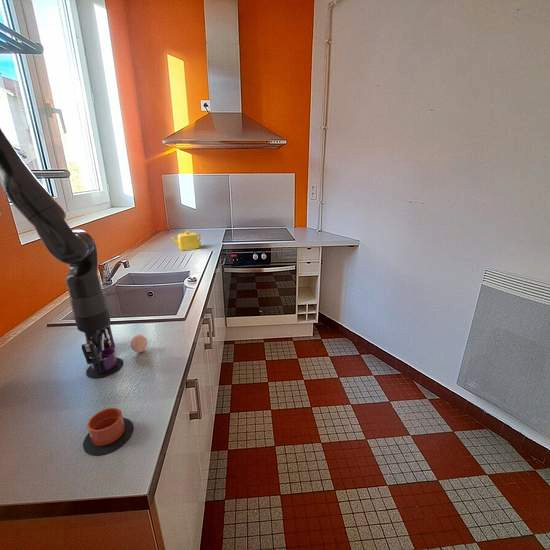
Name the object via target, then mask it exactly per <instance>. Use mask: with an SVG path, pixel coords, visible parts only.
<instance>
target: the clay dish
mask: <svg viewBox="0 0 550 550" xmlns="http://www.w3.org/2000/svg"><path fill="white" fill-rule="evenodd" d="M123 418H124V416H123V412H122V410H121V409H119V408H118V407H108V408H104V409H102V410H99V411H98V412H96V413H95V414H93V415H92V416H91V417H90V418H89V420H88V422H87V424H86V426H87V431H88V433H89V434H90V438H91V441H92V443H93V444H94V445H97V446H104V445H108V444H111V443H113V442H114V441H116V440H117V439H118V438H120V436H121V435H122V434H123V433H124V430H125V424H124V420H123Z"/></svg>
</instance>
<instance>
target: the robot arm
mask: <svg viewBox="0 0 550 550" xmlns="http://www.w3.org/2000/svg"><path fill="white" fill-rule="evenodd" d="M3 131H4V130H3V129H2V127H0V186H1V189H2V191H3V193H4V194H5V196H6V197H7V199H8V200H9V201H10V203H11V204H12V205H13V207H15V209H16V210H17V211H18V212H19V213H20V214H21V215H22V216H23V217H24V218H25V219H26V220H27V221H28V223H29V224H30V225H32V226H33V227H34V229H35V231H36V233H37V235H38V237H39V238H40V240H41V242H42V243H43V245H44V247H45V248H46V250H47V251H48V252H49V254H50V255H51V256H52V257H53V258H55V259H56V260H57V261H59V262H61V263H63V264H64V265H68V271H67V273H66V275H65V284H66V288H67V291H68V296H69V300H70V307H71V311H72V315H73V318H74V321H75V325H76V329H77V330H78V332H81V333H83V334H85V333H86V336H85V342H86V343H84V344H82V345H81V350H82V353H83V355H84V358H85V361H86V364H87V365H91V364H93V365H94V369H95V373H97V374H99V373H104V372H105V366H104V362H103V359H102V351H104V348H111V346H110V345H111V341H110V340H112V336H113V332H112V333H111V331H112V328H111V316H110V312H109V308H108V303H107V300H106V297H105V294H104V292H103V287H102V284H101V280H100V276H99V271H98V269H99V263H98V249H97V245H96V241H95V239H94V238H93V236H92V234H90V233H89V232H87V231H85V230H83V229H72V228H71V227H70V226H69V224H68V223H67V222H66V220H65V219H66V217H67V214H66V212H65V210H64V208H63V207H62V206H61V205H60V204H59V203H58V201H57V200H56V199H55V198H54V197H53V196H52V195H51V193H49V191H48V190H47V189H46V188H45V186H43V184H42V183H41V182H40V181H39V180H38V178H37V177H36V176H35V175H34V174H33V172H32V171H31V170H30V168H29V167H28V165H26V164H25V162H24V161H23V159H22V158H21V156H20V155H19V153H18V152H17V151H16V149H15V148H14V146H13V145H12V144H11V142H10V140H9V139H8V137H7V136H6V134H5V133H4V132H3ZM96 347H100V348H99V349H96ZM97 352H98V354H97Z"/></svg>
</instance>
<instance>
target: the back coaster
mask: <svg viewBox="0 0 550 550" xmlns="http://www.w3.org/2000/svg"><path fill="white" fill-rule="evenodd" d="M116 359H117V364H116V366H115V367H114V368H112V369H111V370H109V371H106V372H104V373H99V374H97V373H95V372H94V371H93V370H92V367H91V365H89V366H88V367H87V369H86V370H85V374H86V376H87V377H88V378H91V379H102V378H103V379H104V378H106V377H109V376H111V375H113V374H115V373H117V372H119V370H121V369H122V367H123V365H124V361H123V359H122V358H120V357H117V356H116Z"/></svg>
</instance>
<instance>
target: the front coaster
mask: <svg viewBox="0 0 550 550" xmlns="http://www.w3.org/2000/svg"><path fill="white" fill-rule="evenodd" d="M123 420H124V424H125V430H124V433H123V434H122V435H121V436H120V438H118V439H117V440H116V441H114V442H113V443H111V444H108V445H104V446H97V445H94V444H93V443H92V441H91V438H90V434H89V432H88V433H87V434H86V436H85V438H84V439H83V442H82V448H83V450H84V452H85V453H86V454H88V455H89V456H95V457H98V456H104V455H108V454H110V453H112V452H115V451H117V450H119V449H120V448H121V447H122V446H124V445H125V444H126V443H127V442H128V441H129V440H130V438H131V437H132V435H133V433H134V424H133V421H131V419H129V418H126V417H123Z"/></svg>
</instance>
